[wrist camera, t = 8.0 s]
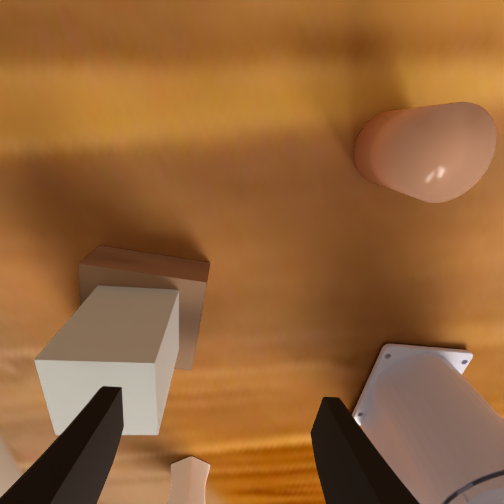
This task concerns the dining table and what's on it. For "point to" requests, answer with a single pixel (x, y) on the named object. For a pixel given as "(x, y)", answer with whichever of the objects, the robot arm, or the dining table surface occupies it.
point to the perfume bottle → (188, 481)
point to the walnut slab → (152, 285)
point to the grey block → (114, 356)
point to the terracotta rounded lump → (427, 150)
